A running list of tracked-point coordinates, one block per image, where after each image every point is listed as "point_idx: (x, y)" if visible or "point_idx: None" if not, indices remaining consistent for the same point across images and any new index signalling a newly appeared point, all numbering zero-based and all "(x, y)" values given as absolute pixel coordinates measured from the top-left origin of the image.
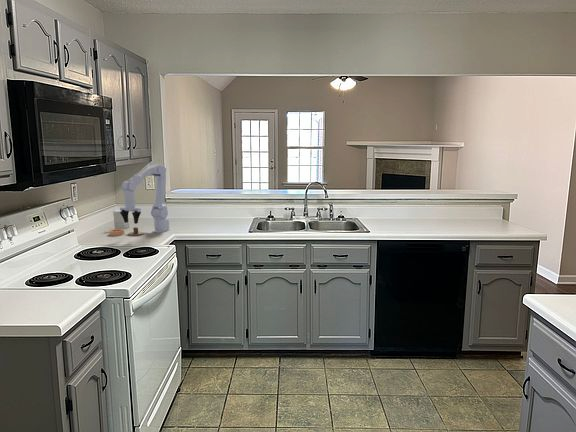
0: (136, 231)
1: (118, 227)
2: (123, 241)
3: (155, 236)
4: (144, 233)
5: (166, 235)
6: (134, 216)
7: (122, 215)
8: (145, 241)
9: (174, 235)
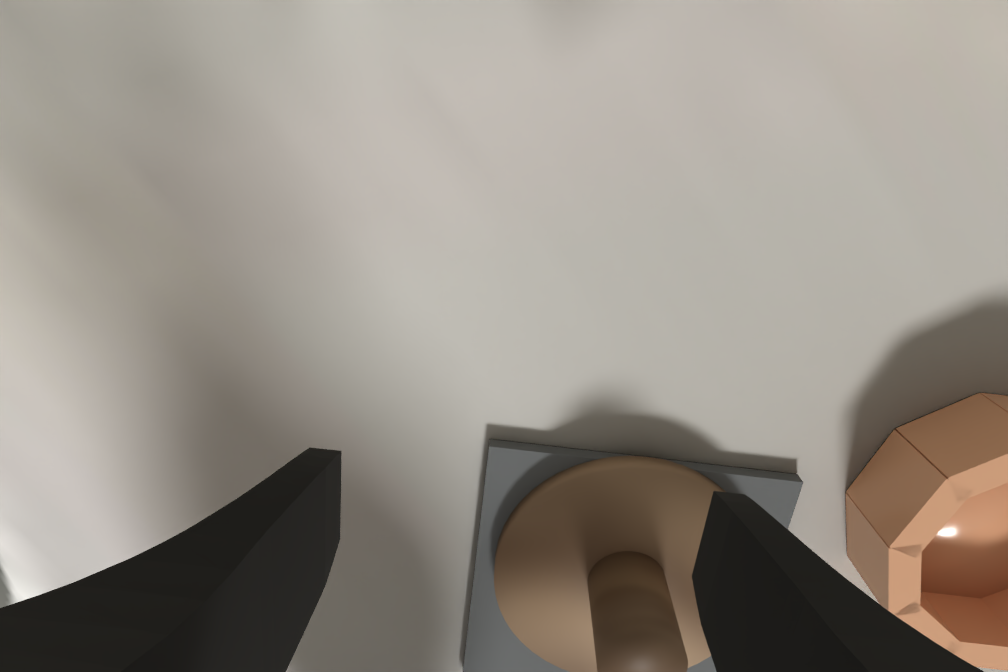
0: (600, 589)
1: None
2: (532, 62)
3: None
4: None
5: None
6: (134, 577)
7: (938, 669)
8: (117, 182)
9: None
